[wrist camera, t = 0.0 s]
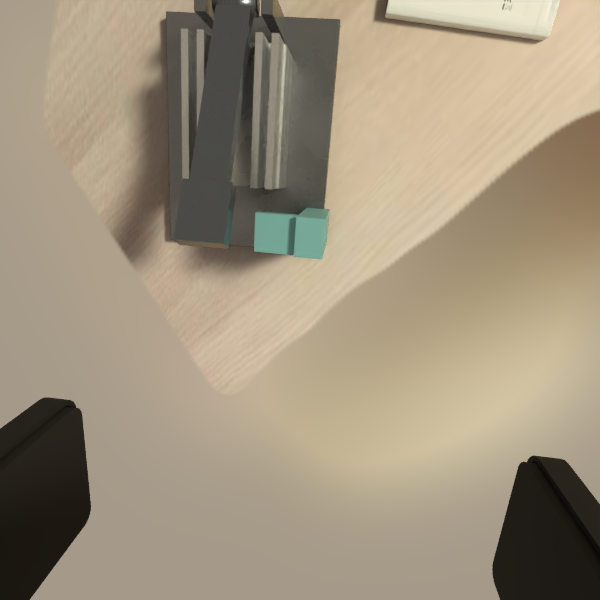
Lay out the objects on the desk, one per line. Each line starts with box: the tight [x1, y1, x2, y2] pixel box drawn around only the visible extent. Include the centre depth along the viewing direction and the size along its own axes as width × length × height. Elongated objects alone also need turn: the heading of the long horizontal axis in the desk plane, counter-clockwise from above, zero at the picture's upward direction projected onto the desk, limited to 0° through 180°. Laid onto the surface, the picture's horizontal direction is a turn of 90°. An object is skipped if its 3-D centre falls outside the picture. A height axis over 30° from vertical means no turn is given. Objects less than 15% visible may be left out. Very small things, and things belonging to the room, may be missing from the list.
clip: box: [254, 208, 329, 259], centre depth 33 cm, size 3×5×8 cm, turn 86°
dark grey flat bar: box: [173, 0, 260, 249], centre depth 28 cm, size 18×3×1 cm, turn 176°
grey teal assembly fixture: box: [166, 0, 340, 247], centre depth 33 cm, size 18×14×7 cm
